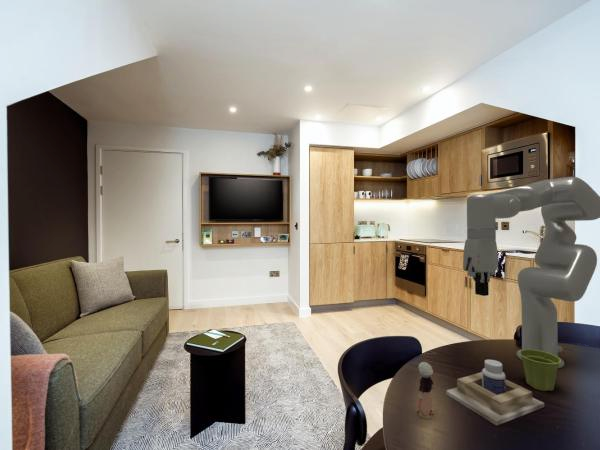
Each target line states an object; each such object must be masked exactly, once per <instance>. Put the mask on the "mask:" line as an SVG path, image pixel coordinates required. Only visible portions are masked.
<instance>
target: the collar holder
mask: <svg viewBox="0 0 600 450" xmlns="http://www.w3.org/2000/svg"><path fill="white" fill-rule="evenodd" d="M445 394H446V395H447V396H448V397H450V398H451V399H453V400H454V401H456V402H458V403H460V404H461V405H463V406H465V407H466V408H468V409H469V410H471V411H472V412H474V413H475V414H477V415H478V416H480V417H483V419H485V420H487V421H488V422H490V423H491V424H493V425H495V426H499V425H502V424H504V423H507V422H509V421H512V420H514V419H517V418H520V417H523V416H525V415H527V414H529V413H533V412H535V411H538V410H541V409H542V408H545V402H543V401H541V400H539V399H536V398H535V397H533V391H532V390H529V389H527V388H525V387H523V386H521V385H518V384H517V383H514V382H513V381H510V380H508V379H506V392H505V393H502V394H499V395H496V394H494V393H492V392H491V391H489V390H487V389H485V388H483V387H482V371H480V372H477V373H474V374H470V375H467V376H463V377H460V378H457V379H456V387H453V388H449V389H447V390H445Z"/></svg>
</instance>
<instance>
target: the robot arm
mask: <svg viewBox="0 0 600 450" xmlns="http://www.w3.org/2000/svg"><path fill="white" fill-rule="evenodd" d="M538 208H540V209H541V210H540V213H541V217H542V219H543V220H542V221H543V223H544V228H545V234H544V236H543V238H542V239H541V241H540V244H539V245H538V248H537V250H536V252H535V255H534V263H535V265H536V266H528V267H525V268H522V269H521V270H520V271H519V272H518V273H517V284H518V285H517V286H518V289H519V293H520V301H521V349H519V350H517V351H516V357H517V358H518V359H520V360H521V361H523V360H522V358H521V356H520V354H519V351H520V350H524V349H532V350H539V351H544V352H547V353H550V354H553V355H555V356H557V357H559V355H558V354H559V353H560V352H563V350H564V348H563V347H562V346H561V345H558V344H559V343H558V337H559V336H558V310H557V307H556V305H555V303H554V302H553V300H552V299H555V300H560V301H565V302H577V301H580V300H582V298H583V297H584V295H585V293H586V291H587V289H588V287H589V286H590V285H589V284H590V282H591V280H592V278H593V275H594V273H595V271H596V268H597V265H598V264H597V263H598V256H597V252H596V251H595V249H594V248H592V247H591V246H589V245H587V244H579V243H576V241H577V234H576V232H575V231H574V230H573V229H572V227H570V225H568V224H567V223H566V222H569V221H572V222H573V221H576V222H577V221H578V222H579V221H595V220H598V219H600V195H599V194H598V193H597V191H595V190H594V188H592V187H591V185H589V183H587V182H586V181H585V180H583V179H582V178H579V177H578V176H565V177H560V178H559V177H558V178H553V179H552V178H551V179H550V178H549V179H544V180H539V181H536V182H533V183H529V184H525V185H521V186H516V187H511V188H508V189H504V190H500V191H495V192H490V193H481V194H478V193H477V194H472V195H469V196H468V197H467V199H466V239H465V241H464V246H463V253H462V254H463V256H462V257H463V258H462V269H463V271H465V272H467V274H466V275H467V276H468V277H469V278H470V277H471V278H472V279H473V282H474V294H475V295H479V296H483V297H486V296H489V292H490V291H489V283H490V282H491V281H490V280H491V276H494V275H496V271H497V270H499V269H498V268H499V255H498V254H499V253H498V245H497V239H496V238H497V233H496V232H497V229H496V227H497V225H496V219H510V218H513V217H516V216H517V215H518V214H519V213H520V212H527V211H533V210H535V209H538ZM559 358H560V357H559ZM560 359H561V363H560V364H559V367H558V368H557V369H562V368H563V367H565V362H564V360H563V358H560Z"/></svg>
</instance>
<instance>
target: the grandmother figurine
mask: <svg viewBox="0 0 600 450" xmlns="http://www.w3.org/2000/svg"><path fill="white" fill-rule="evenodd" d="M418 372H419V375H420V376H421V378H420V380H419V387H418V395H417V406H416V408H417V411H419V412H418V416H419V417H420V418H422V419H425V420H430V419H431V418H432V417H431V415H432V416H433V415H435V412H434V411H433V409H434V406H433V398H432V390H435V388H436V387H435V384H434V381H433V379H432V377H431V376H432V375H433V374H434V370H433V368H432V366H431V365H430V364H429V363H428V362H427V361H426V362H425V361H422V362H420V363H419V364H418Z"/></svg>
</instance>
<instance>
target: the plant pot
mask: <svg viewBox="0 0 600 450" xmlns="http://www.w3.org/2000/svg"><path fill="white" fill-rule="evenodd" d="M519 350H520V351H519V354H520V356H521V358H522V360H521V361H522V364H523V369H524V375H525V381H526V383H527V385H529V386H530V387H532V388H533V389H535V390H539V391H542V392H547V391H550V392H552V391H554V389H555V383H556V379H557V372H558V369H559V368H558V367H559V364H560V363H561V359H562V358H561V359H560V357H559V356H558V357H557V356H555V355H553V354H550V353H547V352H544V351H539V350H532V349H524V350H522V349H519Z"/></svg>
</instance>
